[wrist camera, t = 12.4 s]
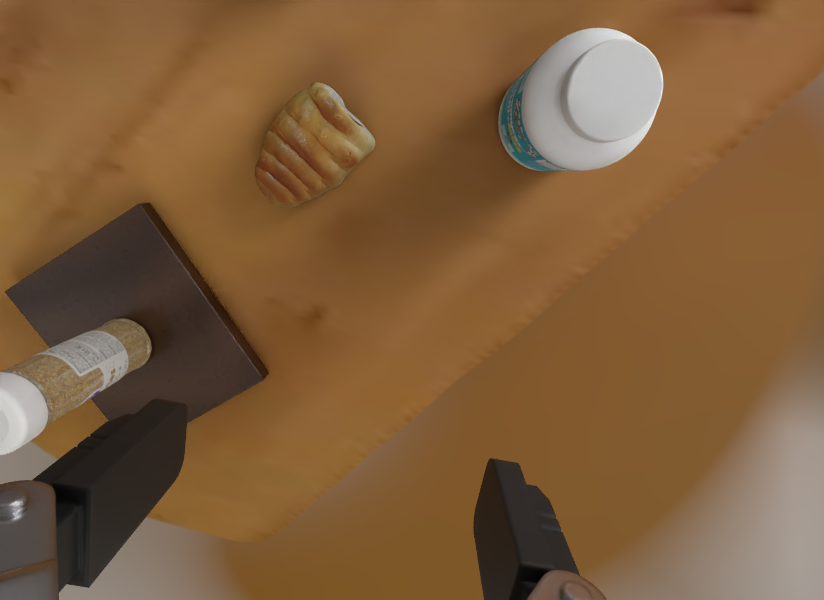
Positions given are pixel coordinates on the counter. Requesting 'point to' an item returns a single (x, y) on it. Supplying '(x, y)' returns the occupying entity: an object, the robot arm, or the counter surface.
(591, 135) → the pill bottle
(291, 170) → the pastry
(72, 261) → the walnut board
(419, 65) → the counter surface
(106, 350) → the sprinkles bottle
